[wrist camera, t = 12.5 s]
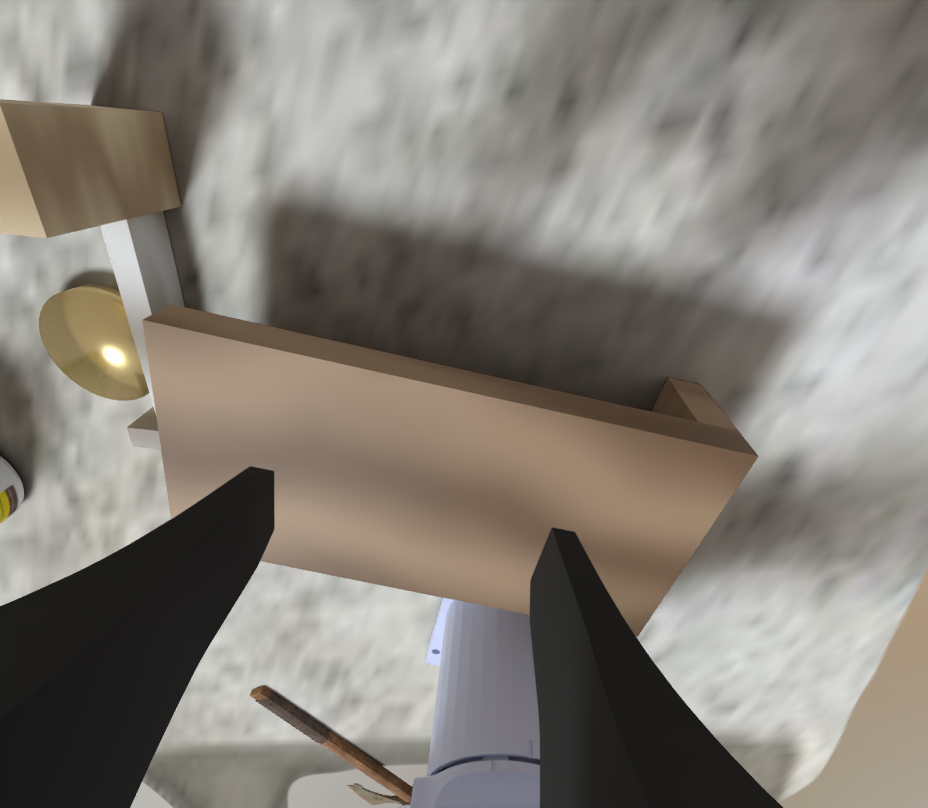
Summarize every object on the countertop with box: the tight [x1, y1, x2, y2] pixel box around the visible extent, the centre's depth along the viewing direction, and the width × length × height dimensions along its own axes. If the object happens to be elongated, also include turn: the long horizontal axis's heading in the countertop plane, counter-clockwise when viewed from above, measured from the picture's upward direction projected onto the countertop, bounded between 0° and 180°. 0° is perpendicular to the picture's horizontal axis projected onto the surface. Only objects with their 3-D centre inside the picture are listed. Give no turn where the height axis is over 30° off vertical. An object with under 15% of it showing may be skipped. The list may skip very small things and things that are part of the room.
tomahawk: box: [250, 686, 413, 805], centre depth 39 cm, size 20×7×1 cm, turn 35°
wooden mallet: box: [0, 100, 185, 449], centre depth 17 cm, size 13×3×6 cm, turn 175°
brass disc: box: [39, 284, 149, 400], centre depth 20 cm, size 5×5×1 cm
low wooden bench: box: [142, 304, 758, 637], centre depth 20 cm, size 10×20×5 cm, turn 78°
